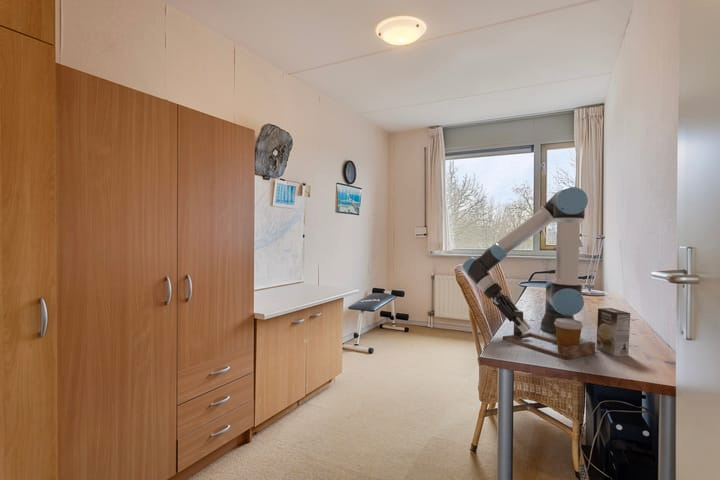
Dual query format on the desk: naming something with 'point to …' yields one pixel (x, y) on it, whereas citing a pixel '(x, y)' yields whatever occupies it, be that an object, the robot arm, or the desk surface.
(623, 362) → the desk surface
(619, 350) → the coffee box
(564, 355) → the frame
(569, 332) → the disposable coffee cup
